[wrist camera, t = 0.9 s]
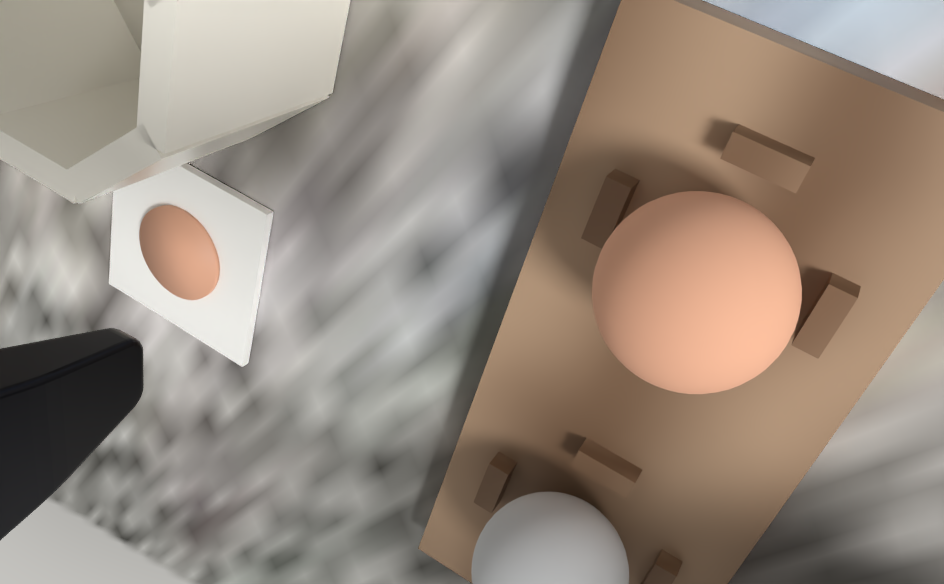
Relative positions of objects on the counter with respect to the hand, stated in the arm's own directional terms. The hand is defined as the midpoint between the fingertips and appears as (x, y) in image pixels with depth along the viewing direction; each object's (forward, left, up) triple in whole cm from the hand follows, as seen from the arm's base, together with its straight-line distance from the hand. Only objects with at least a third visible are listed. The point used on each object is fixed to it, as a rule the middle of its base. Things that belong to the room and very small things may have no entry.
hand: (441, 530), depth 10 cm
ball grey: (-1, +9, -9) cm, 13 cm away
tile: (+14, +9, -12) cm, 21 cm away
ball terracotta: (-1, 0, -9) cm, 9 cm away
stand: (-1, +5, -12) cm, 13 cm away
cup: (+14, 0, -12) cm, 18 cm away
